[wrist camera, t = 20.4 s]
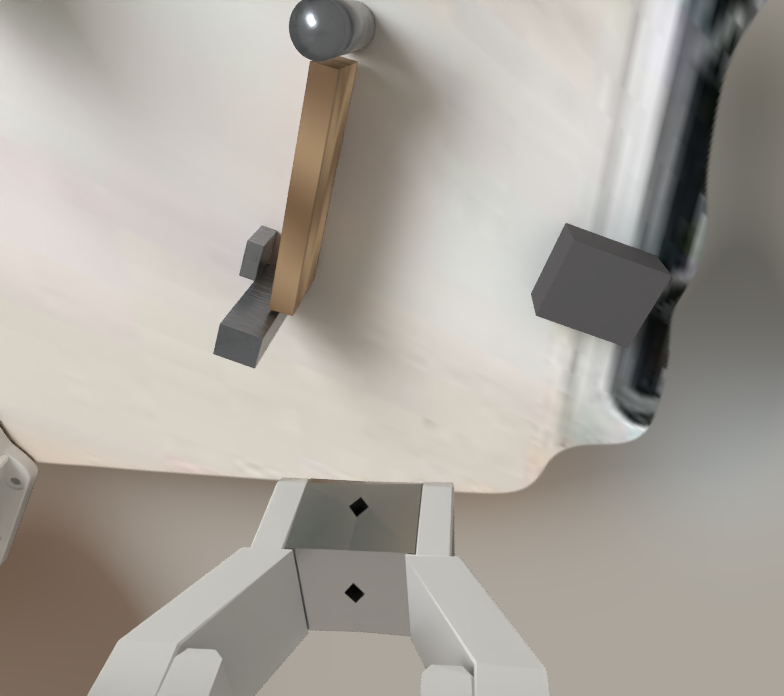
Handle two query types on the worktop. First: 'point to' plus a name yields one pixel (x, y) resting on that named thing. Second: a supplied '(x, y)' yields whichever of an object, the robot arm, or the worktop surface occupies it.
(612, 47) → the worktop surface
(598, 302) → the block
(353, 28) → the hinge post
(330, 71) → the gate
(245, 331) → the post
